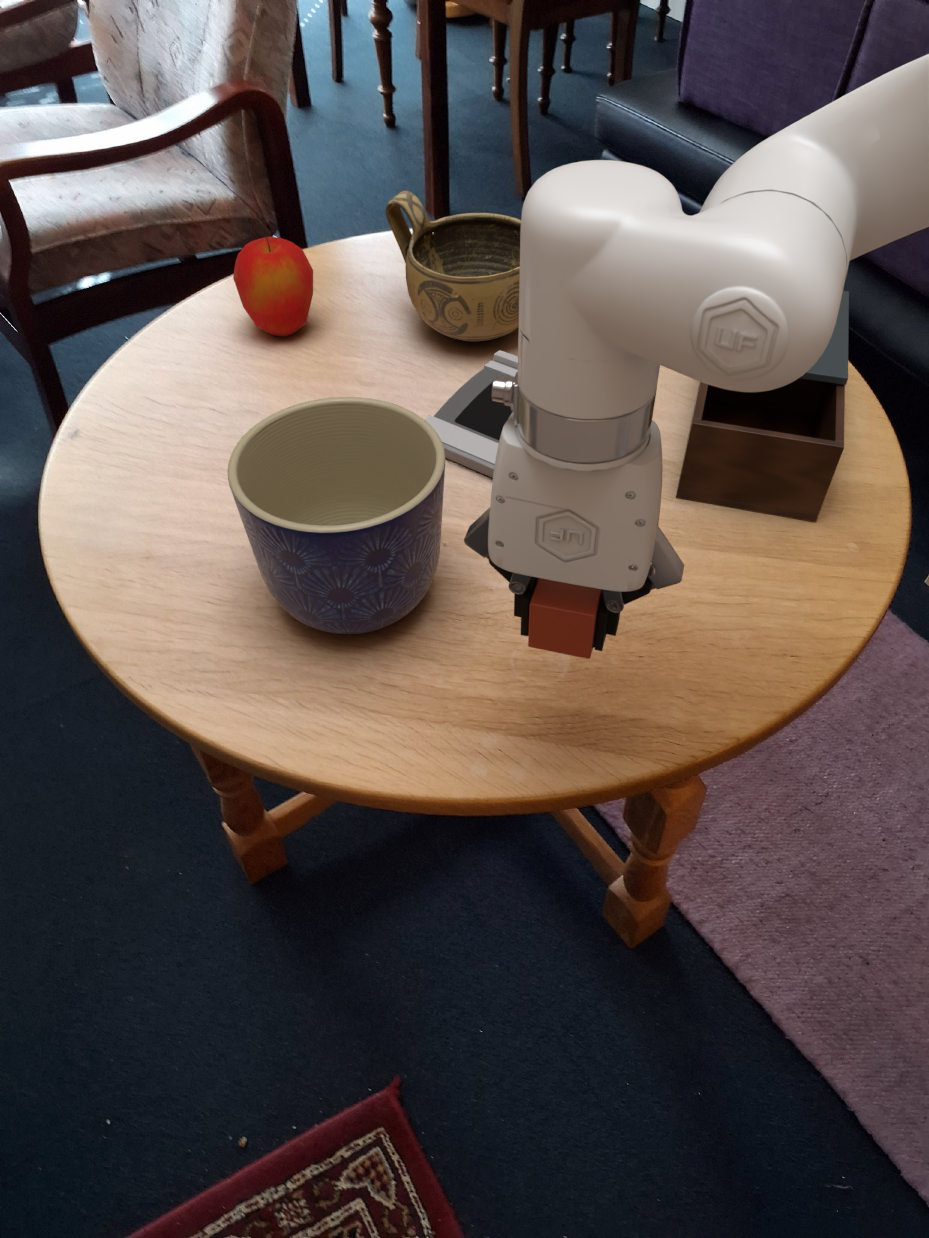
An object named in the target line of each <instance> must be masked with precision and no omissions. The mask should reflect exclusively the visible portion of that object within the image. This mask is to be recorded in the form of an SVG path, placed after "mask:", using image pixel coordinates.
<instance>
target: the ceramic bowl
mask: <svg viewBox="0 0 929 1238" xmlns="http://www.w3.org/2000/svg"><path fill="white" fill-rule="evenodd" d="M402 210H403V211H402ZM403 212H404V213H403ZM404 214H405V215H406V217H407V219H408V221H409V224H410V226H411V230H412V232H411V230H410V228H409V225H408V223H407V220H406V219H405V217H404ZM385 217H386V220H387V223H388V225H389V227H390V229H391V232H392V234H393V236H394V239H395V240H396V243H397V245H398V248H399V250H400V253H401V256H402V258H403V261H404V263H405V267H404V268H405V283H406V288H407V293H408V296H409V298H410V301H411V304H412V306H413V308H414V309H415V312H416V313H417V314H418V316H419V318H420V319H421V320H422V321H423V322H424V323H425V324H426V325H428V326H429V327H430V328H432V329H433V330H434V331H436V332H438V333H439V334H441V335H443V336H446V337H448V338H450V339H454V340H459V341H463V342H472V343H473V342H474V343H476V342H477V343H479V342H487V341H491V340H495V339H499V338H501V337H505V336H507V335H509V334H511V333H512V332H514V331H516V330H517V329H519V281H520V230H521V219H519V218H518V217H517V218H516V217H512V216H509V215H504V214H498V213H491V212H468V213H466V212H465V213H459V214H454V215H448V216H444V217H441V218H438V219H436V220H430V219H429V218H428V216H427V212H426V209H425V207H424V206H423V203H422V202H421V200H420V199H419V198H418V197H417V196H416V195H415V194H414V193H413V192H411V191H409V190H402V191H401V192H398V194H396V195H395V196H393V197H392V198H391V199H390V200H389V201H388V202H387V204H386V206H385Z"/></svg>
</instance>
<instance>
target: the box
mask: <svg viewBox="0 0 929 1238" xmlns="http://www.w3.org/2000/svg"><path fill="white" fill-rule="evenodd" d="M845 400H846V385H841V384H834V383H828V382H821V381H814V380H807V379H800V378H798V379H797V380H795V381H793V382H792V383H789V384H787V385H785V386H783V387H780V388H777V389H773V390H769V391H763V392H739V391H732V390H726V389H722V388H719V387H715V386H712V385H708V384H705V383H703V382H700V381H699V383H698V388H697V393H696V398H695V402H694V407H693V412H692V417H691V421H690V425H689V432H688V436H687V440H686V445H685V450H684V455H683V460H682V465H681V470H680V475H679V480H678V485H677V489H676V494H675V498H676V499H682V500H688V501H693V502H699V503H704V504H710V505H716V506H721V507H726V508H732V509H738V510H744V511H750V512H755V513H761V514H766V515H767V514H768V515H773V516H777V517H778V516H779V517H784V518H788V519H789V518H790V519H796V520H801V521H807V522H811V523H817V521H818V518H819V515H820V512H821V510H822V507H823V504H824V502H825V499H826V497H827V494H828V491H829V488H830V486H831V483H832V481H833V478H834V475H835V473H836V471H837V469H838V465H839V462H840V459H841V457H842V455H843V451H844V449H845V415H846V414H845V410H846V409H845V406H846V405H845V404H846V401H845Z"/></svg>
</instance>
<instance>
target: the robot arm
mask: <svg viewBox="0 0 929 1238" xmlns="http://www.w3.org/2000/svg"><path fill="white" fill-rule="evenodd" d="M520 217H521V218H520V220H521V230H520V281H519V327H518V335H517V337H518V338H517V339H518V340H517V341H518V343H517V344H518V345H517V357H518V372H516V375H515V377H508V378H507V379H506V378H498V377H496V378H495V379H494V382H493V386H492V401H496V402H503V403H504V405H506V406H510V408H511V411H512V414H511V415H510V417H509V419H508V420H507V421H506V423H505V424H504V426H503V429H502V433H501V436H500V440H499V444H498V449H497V454H496V460H495V466H494V474H493V478H492V484H491V492H490V493H491V494H490V505H489V507H488V508H487V509H486V510H485V511H484V512H483V513H482V514H481V515H480V516H478V518H476V520H475V521H474V522H472V523H471V524H470V525H469V527H468V529H467V531H466V533H465V536H464V539H463V543H464V544H465V545H466V546H467V547H468V548H469V549H471V550H473V551H474V552H475V553H477V554H478V555H479V556H481V557H482V558H484V559H485V558H486V559H487V560H488V563H489V565H490V566H491V568H493V569H494V570H495V571H496V572H497V573H498V574H500V576H502V578H504V579H505V580H506V581H507V582H508V589H509V591H510V592H511V593H513V594H514V595H513V616H514V617H516V618H520V636H523V637H528V635H529V610H530V602H531V599H532V596H533V593H534V590H535V587H536V584H537V581H538V578H542V579H548V580H553V581H558V582H563V583H569V584H574V585H580V586H586V587H592V588H597V589H602V595H601V599H600V603H599V606H598V610H597V616H596V624H595V633H594V641H593V649H594V651H598V652H603V649H604V646H605V642H606V637H607V635H608V636H614V637H616V636H617V631H618V629H619V628H618V627H619V622H620V617H621V612H622V611H623V610H624V608H625V605H627V604H630V603H632V602H634V601H637V600H638V599H641V598H643V597H645V596H647V595H649V594H650V593H651V592H652V590H661V589H664V588H667V587H671V586H675V585H677V584H680V583H681V582H682V581H683V576H684V571H685V564H684V562H683V561H682V559H681V557H680V555H678V553H677V551H676V550H675V548H674V547H673V545H672V544H671V543H670V541H669V540H668V538H667V536H666V535H665V534H664V532H663V531H662V529H661V527H660V526H659V522H660V514H661V513H660V512H661V506H662V505H661V504H662V492H663V467H664V466H663V465H664V464H663V446H662V438H661V431H660V428H659V426H658V424H657V423H656V421H655V420H654V419H653V414H654V409H655V404H656V403H655V402H656V396H657V390H658V381H659V376H660V368H661V367H664V368H666V369H669V370H671V371H673V372H675V373H678V374H680V375H683V376H686V377H688V378H690V379H692V380H695V381H698V382H699V383H700V382H703V383H705V384H708V385H712V386H715V387H719V388H722V389H726V390H732V391H739V392H763V391H769V390H773V389H777V388H780V387H783V386H785V385H787V384H789V383H792V382H793V381H795V380H797V379H798V378H800V377H801V376H803V375H804V374H805V373H806V372H807V371H808V370H809V369H810V368H812V367H813V366H814V365H815V363H816V362H817V361H818V359H819V358H820V357H821V355H822V354H823V353H824V351H825V349H826V347H827V345H828V343H829V341H830V339H831V336H832V333H833V330H834V327H835V325H836V321H837V316H838V312H839V308H840V303H841V298H842V293H843V291H844V288H845V282H846V280H847V275H848V271H849V265H850V261H853V260H854V259H857V258H859V257H861V256H863V255H865V254H867V253H870V252H872V251H874V250H877V249H879V248H881V247H883V246H886V245H888V244H890V243H893V242H895V241H898V240H900V239H902V238H905V237H907V236H910V235H911V234H914V233H916V232H919V231H921V230H925V229H927V228H929V53H927V54H925V55H922V56H920V57H918V58H915V59H914V60H911V61H909V62H907V63H905V64H903V65H900V66H898V67H896V68H894V69H892V70H890V71H888V72H886V73H884V74H881V75H880V76H878V77H876V78H874V79H872V80H871V81H869V82H866V83H865V84H863V85H861V86H859V87H857V88H855V89H853V90H851V91H850V92H848V93H846V94H844V95H842V96H841V97H839V98H837V99H835V100H834V101H833V100H832V102H829V103H827V104H826V105H824V106H823V107H820V108H819V109H817V110H814V112H811V113H810V114H808V115H806V116H804V117H802V118H800V119H799V120H797V121H795V122H793V123H792V124H789V125H788V126H786V127H784V128H782V129H780V130H779V131H777V132H776V133H773V134H772V135H770V136H768V137H767V138H766V139H764V140H762V141H760V142H759V143H758V144H756V145H755V146H753V147H752V148H750V149H749V150H748V151H746V152H745V153H744V154H742V155H741V156H740V157H739V158H738V159H736V161H734V162H733V163H732V164H731V165H730V166H729V167H728V168H727V169H726V170H725V171H724V172H723V173H722V174H721V176H720V177H719V178H718V179H717V181H716V182H715V184H714V185H713V187H712V188H711V190H710V192H709V194H708V195H707V197H706V198H705V200H704V203H703V204H702V206H701V208H700V211H699V212H698V213H695V214H693V215H690V214H689V215H688V214H687V213H685V212H684V211H683V206H682V202H681V199H680V196H679V193H678V191H677V190H676V188H675V186H674V184H673V183H672V182H670V180H669V179H667V178H666V177H665V176H664V175H663V174H661V173H660V172H658V171H657V170H654V169H652V168H650V167H647V166H645V165H642V164H637V163H633V162H627V161H621V160H612V159H593V160H592V159H591V160H581V161H577V162H570V163H567V164H562V165H560V166H558V167H555V168H553V169H551V170H549V171H547V172H546V173H544V174H543V175H542V176H540V177H539V178H538V179H536V180H535V181H534V183H533V184H532V185H531V187H530V188H529V190H528V191H527V193H526V196H525V199H524V201H523V204H522V207H521V216H520Z"/></svg>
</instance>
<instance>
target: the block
mask: <svg viewBox="0 0 929 1238" xmlns="http://www.w3.org/2000/svg"><path fill="white" fill-rule="evenodd" d="M601 595H602V589H597V588H592V587H586V586H580V585H574V584H569V583H563V582H558V581H553V580H548V579H542V578H538V581H537V584H536V587H535V590H534V593H533V596H532V599H531V602H530V610H529V635H528V636H527V637H528V638H527V639H528V640H527V647H528V648H532V649H537V650H543V651H546V652H547V651H548V652H552V653H557V654H562V655H567V656H571V657H577V658H581V659H586V660H587V659H588V660H590V659H591V658H592V652H593V651H594V648H593V641H594V633H595V624H596V616H597V610H598V606H599V603H600V599H601Z"/></svg>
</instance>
